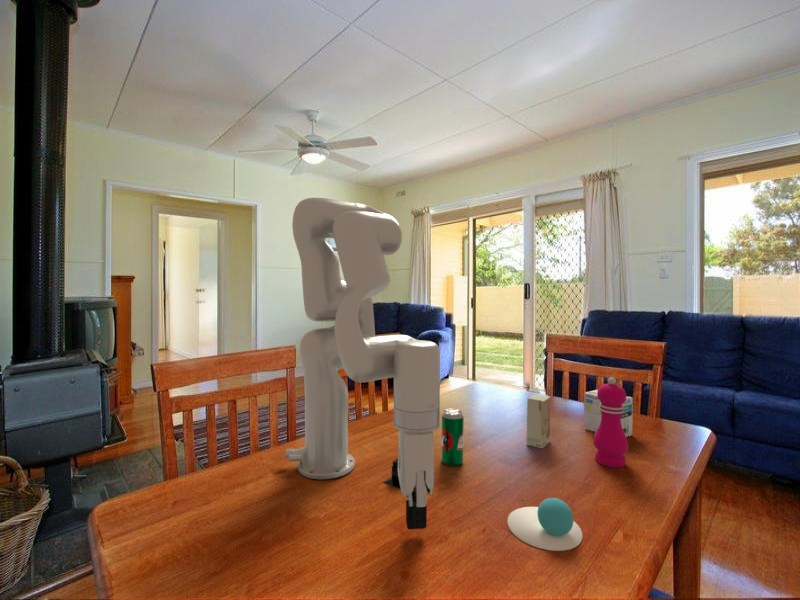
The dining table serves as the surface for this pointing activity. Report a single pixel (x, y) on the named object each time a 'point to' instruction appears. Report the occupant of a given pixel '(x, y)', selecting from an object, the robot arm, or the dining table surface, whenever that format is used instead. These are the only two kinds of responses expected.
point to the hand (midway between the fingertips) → (416, 525)
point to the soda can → (452, 437)
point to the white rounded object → (541, 531)
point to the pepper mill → (611, 426)
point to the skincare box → (538, 420)
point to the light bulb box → (594, 414)
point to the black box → (394, 476)
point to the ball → (555, 516)
